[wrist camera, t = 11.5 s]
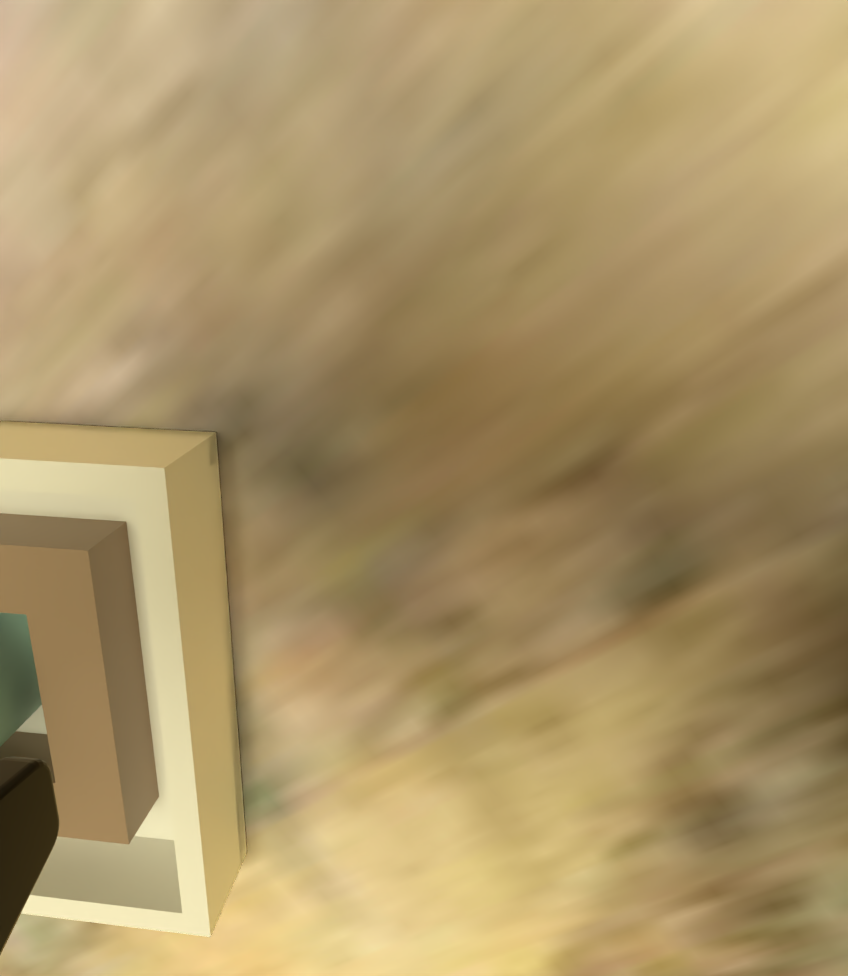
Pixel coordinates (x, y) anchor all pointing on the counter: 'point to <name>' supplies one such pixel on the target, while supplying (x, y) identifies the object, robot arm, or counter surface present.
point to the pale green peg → (16, 675)
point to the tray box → (126, 669)
